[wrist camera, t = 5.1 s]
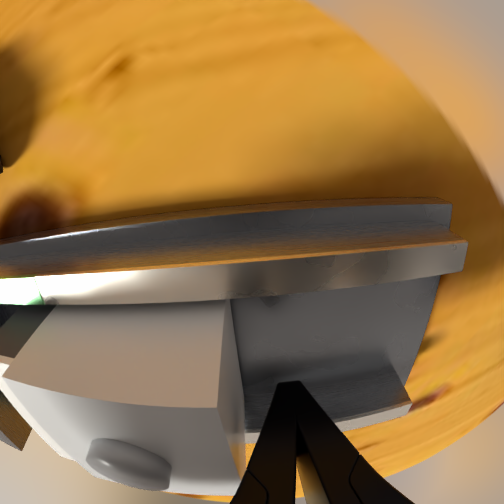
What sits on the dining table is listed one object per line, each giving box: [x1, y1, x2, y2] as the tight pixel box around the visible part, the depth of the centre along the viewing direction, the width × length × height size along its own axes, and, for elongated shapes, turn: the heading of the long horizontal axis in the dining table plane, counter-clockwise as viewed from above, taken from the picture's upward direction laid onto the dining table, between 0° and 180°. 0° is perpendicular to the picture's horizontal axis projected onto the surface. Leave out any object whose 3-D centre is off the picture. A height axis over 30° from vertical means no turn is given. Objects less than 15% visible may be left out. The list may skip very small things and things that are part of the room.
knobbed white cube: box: [2, 299, 246, 496], centre depth 8 cm, size 6×6×5 cm
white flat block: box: [0, 304, 75, 461], centre depth 8 cm, size 2×6×4 cm, turn 4°
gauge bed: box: [0, 198, 468, 451], centre depth 9 cm, size 24×10×6 cm, turn 94°
